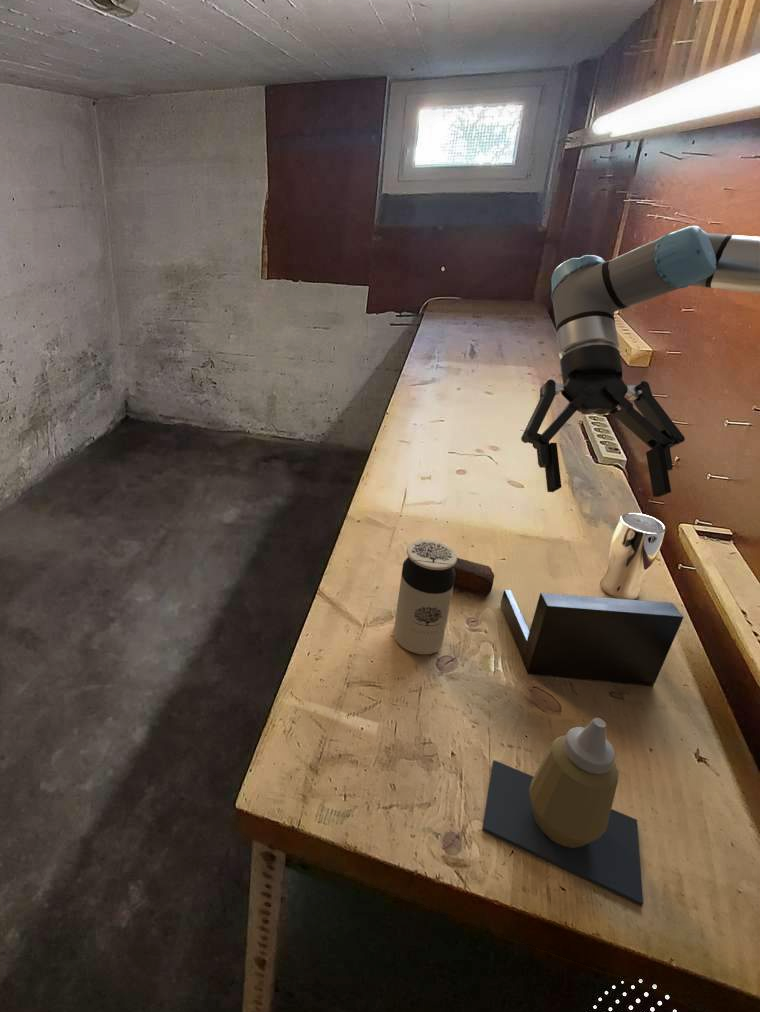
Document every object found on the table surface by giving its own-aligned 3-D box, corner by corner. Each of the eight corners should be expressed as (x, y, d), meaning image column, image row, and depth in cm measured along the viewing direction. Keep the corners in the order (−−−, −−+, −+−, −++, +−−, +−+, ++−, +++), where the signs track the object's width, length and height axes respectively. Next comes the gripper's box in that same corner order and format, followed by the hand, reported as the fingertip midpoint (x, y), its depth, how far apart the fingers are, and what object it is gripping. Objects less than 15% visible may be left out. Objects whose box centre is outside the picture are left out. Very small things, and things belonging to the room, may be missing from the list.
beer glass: (648, 592, 104) (674, 524, 97) (630, 607, 101) (656, 539, 94) (607, 572, 109) (630, 507, 103) (589, 586, 106) (611, 520, 99)
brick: (430, 581, 109) (433, 562, 107) (433, 570, 112) (437, 551, 110) (489, 599, 104) (494, 579, 102) (491, 586, 107) (496, 566, 105)
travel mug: (396, 616, 101) (407, 534, 93) (443, 628, 98) (459, 543, 90) (390, 648, 94) (402, 562, 86) (440, 661, 91) (458, 573, 83)
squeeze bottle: (511, 789, 72) (542, 691, 64) (576, 790, 71) (615, 691, 63) (542, 859, 64) (581, 757, 56) (614, 860, 64) (664, 758, 56)
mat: (635, 822, 68) (637, 819, 68) (641, 906, 61) (643, 903, 60) (492, 762, 76) (493, 759, 75) (482, 830, 68) (483, 827, 68)
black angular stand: (499, 606, 102) (515, 543, 96) (607, 615, 99) (630, 550, 93) (527, 674, 88) (547, 606, 82) (653, 686, 86) (684, 617, 79)
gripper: (665, 367, 85) (690, 502, 79) (492, 364, 89) (502, 494, 83) (698, 342, 78) (728, 489, 72) (508, 341, 82) (521, 480, 76)
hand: (607, 492), depth 77 cm, fingers open, 13 cm apart
